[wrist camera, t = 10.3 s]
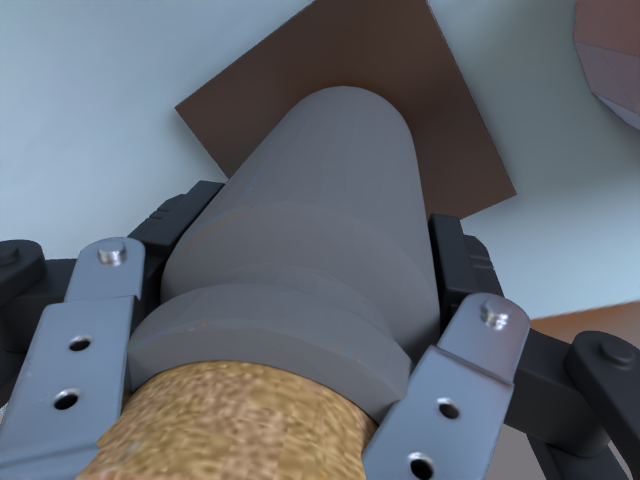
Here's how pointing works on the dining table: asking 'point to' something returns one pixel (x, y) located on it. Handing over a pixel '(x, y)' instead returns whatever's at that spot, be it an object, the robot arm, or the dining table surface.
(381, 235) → the bottle
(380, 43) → the walnut board
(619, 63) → the terracotta pot
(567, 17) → the dining table surface
